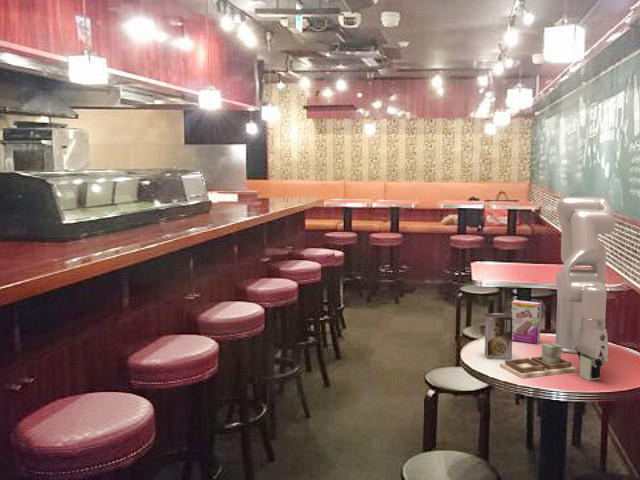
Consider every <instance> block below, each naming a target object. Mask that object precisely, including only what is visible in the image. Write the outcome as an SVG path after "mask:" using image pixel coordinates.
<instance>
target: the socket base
mask: <svg viewBox="0 0 640 480" xmlns="http://www.w3.org/2000/svg"><path fill="white" fill-rule="evenodd" d="M541 344H542V346H541V347H542V348H541V356H535V357H531V358H529V357H524V358H518V359H517V358H515V359H505V361H504V362H500V364H499V367H500V368H502V369H503V370H506V371H508V372H509V373H511V374H514V375H515V376H517V377H519V378H521V379H529V378H530V379H531V378H535V377H537V378H538V377H545V376H553V375H561V374H569V373H575V372H577V371H578V370H577V368H576V367H575V366H572V365H573V364H572V362H570V361H569V360H565V359H563V358H562V352H561V346H559V345H557V344H554V343H553V342H551V343H550V342H549V343H541Z"/></svg>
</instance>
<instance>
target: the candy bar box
mask: <svg viewBox="0 0 640 480" xmlns="http://www.w3.org/2000/svg"><path fill="white" fill-rule="evenodd" d="M510 302H511V303H510V315H511V316H512V317H513V319H512V342H517V343H518V342H519V343H523V344H524V343H527V344H533V345H538V344H539V343H540V340H541V321H542V319H541V317H542V303H541V302H537V301H536V302H535V301H526V300H518V299H514V300H512V301H510Z"/></svg>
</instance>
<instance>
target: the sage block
mask: <svg viewBox="0 0 640 480" xmlns="http://www.w3.org/2000/svg"><path fill="white" fill-rule="evenodd" d="M597 361H598V359H596V362H597ZM579 363H580V364H579V377H581V378H582V379H585V380H587V381H594V380H595V381H596V380H600V379H601V377H600V378H591V370H592V366H593V361H592V357H590V356H581V358H580V360H579ZM601 371H602V369H600V373H601Z"/></svg>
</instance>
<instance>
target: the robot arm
mask: <svg viewBox="0 0 640 480" xmlns="http://www.w3.org/2000/svg"><path fill="white" fill-rule="evenodd" d="M556 214H557V217H558V221H559V224H560V228H561V240H560V242H561V243H560V258H561V261H562V263H563V265H562V268H561V270H559V271H558V272H557V273H556V275H555V283H556V284H555V285H556V293H557V294H556V296H557V298H556V299H557V302H556V328H555V341H554V342H552V343H554V344H557V345H559V346H561V353H568V354H569V353H570V354H577V356H578V358H579V359H578V360H579V361H580V358H581V356H590V357H592V361H593V366H592V370H591V378H600V379H601V372H600V369H601V368H602V366H603V365H604V364H606V363H607V362H609V358H608V356H609V340H608V332H607V329H606V326H607V325H606V313H607V311H606V309H607V288H606V271H607V269H606V268H607V250H606V247H605V245H604V244H603V242H600V241H599V234H601V235H603V234H607V235H609V234H612V233H614V231H615V229H616V216H615V213H614V211H613V208H612V206H611V204H610V202H609V201H608V199H607V198H605V197H602V196H567V197H562V198H560V199H559V200H558V202H557V205H556ZM574 266H576V267H577V266H579V267H580V266H581V267H583V266H584V267H590V269H585V268H573V267H574ZM596 359H598V361H597V362H596ZM601 370H602V369H601Z"/></svg>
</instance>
